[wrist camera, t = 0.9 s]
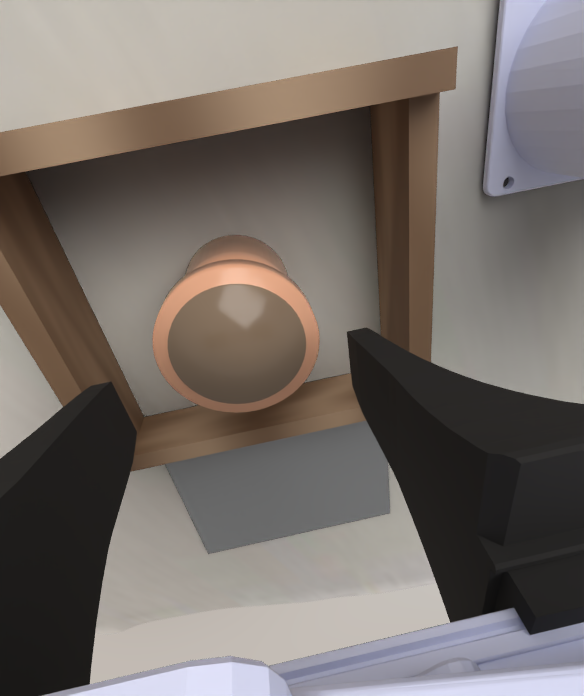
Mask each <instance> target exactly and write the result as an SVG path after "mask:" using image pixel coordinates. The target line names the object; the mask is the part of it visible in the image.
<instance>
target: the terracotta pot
mask: <svg viewBox="0 0 584 696" xmlns="http://www.w3.org/2000/svg"><path fill="white" fill-rule="evenodd" d="M153 351H154V356H155V359H156V362H157V365H158V367H159V369H160V371H161V373H162V375H163V376H164V378H165V379H166V380H167V382H168V383H169V384H170V385H171V386H172V387H173V388H174V389H175V390H176V391H177V392H178V393H179V394H181V395H182V396H184V397H185V398H187V399H188V400H190V401H192V402H194V403H196V404H198V405H200V406H203V407H205V408H208V409H212V410H216V411H222V412H234V413H238V412H250V411H256V410H260V409H263V408H267V407H269V406H272V405H274V404H276V403H278V402H280V401H282V400H284V399H285V398H287V397H288V396H290V395H291V394H292V393H294V392H295V391H296V390H297V389H298V388H299V387H300V386H301V385H302V384H303V383H304V382H305V380H306V379H307V378H308V376H309V375H310V373H311V371H312V369H313V367H314V365H315V362H316V360H317V356H318V351H319V330H318V325H317V322H316V319H315V316H314V314H313V311H312V309H311V307H310V304H309V302H308V300H307V298H306V296H305V295H304V293H303V292H302V291H301V289H300V288H299V287H298V285H297V284H296V283H295V282H293V281H292V280H291V279H290V278H289V277H288V274H287V271H286V268H285V266H284V264H283V262H282V260H281V259H280V257H279V256H278V255H277V253H276V252H275V251H274V250H273V249H272V248H270V247H269V246H268V245H266V244H265V243H263V242H261V241H260V240H257V239H255V238H252V237H248V236H242V235H229V236H223V237H219V238H217V239H214V240H212V241H210V242H208V243H207V244H205V245H204V246H203V247H201V248H200V249H199V250H198V251H197V252H196V253H195V255H194V256H193V258H192V259H191V261H190V263H189V265H188V268H187V271H186V273H185V276H184V277H183V278H182V279H180V280H179V281H178V282H177V283H176V284H175V285H174V286H173V288H172V289H171V290H170V292H169V293H168V295H167V296H166V298H165V300H164V302H163V304H162V306H161V309H160V311H159V314H158V316H157V319H156V322H155V325H154V331H153Z"/></svg>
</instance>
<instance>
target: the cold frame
mask: <svg viewBox="0 0 584 696" xmlns="http://www.w3.org/2000/svg"><path fill="white" fill-rule="evenodd" d="M457 49H458V46H457V47H452V48H447V49H441V50H436V51H431V52H425V53H420V54H415V55H409V56H404V57H399V58H393V59H388V60H383V61H377V62H372V63H367V64H361V65H356V66H351V67H346V68H340V69H335V70H330V71H324V72H319V73H314V74H308V75H303V76H298V77H292V78H287V79H282V80H276V81H271V82H266V83H260V84H255V85H250V86H245V87H239V88H234V89H229V90H223V91H218V92H213V93H207V94H202V95H197V96H191V97H186V98H181V99H175V100H170V101H165V102H159V103H154V104H149V105H143V106H138V107H133V108H128V109H122V110H117V111H112V112H106V113H101V114H96V115H90V116H85V117H80V118H74V119H69V120H64V121H58V122H53V123H48V124H42V125H37V126H32V127H27V128H21V129H16V130H11V131H5V132H0V305H1V307H2V308H3V310H4V312H5V313H6V315H7V316H8V318H9V320H10V321H11V323H12V324H13V326H14V328H15V329H16V331H17V333H18V334H19V336H20V337H21V339H22V341H23V342H24V344H25V346H26V347H27V349H28V350H29V352H30V354H31V355H32V357H33V358H34V360H35V362H36V363H37V365H38V367H39V368H40V370H41V371H42V373H43V375H44V376H45V378H46V380H47V381H48V383H49V384H50V386H51V388H52V389H53V391H54V393H55V394H56V396H57V397H58V399H59V401H60V402H61V404H62V405H63V407H64V406H65V405H67V404H68V403H69V402H70V401H71V400H73V399H74V398H75V397H76V396H78V395H79V394H80V393H81V392H83V391H84V390H85V389H87V388H88V387H90V386H92V385H97V384H101V383H106V382H112V384H113V386H114V388H115V389H116V391H117V393H118V395H119V397H120V399H121V401H122V403H123V405H124V407H125V409H126V411H127V413H128V415H129V417H130V419H131V421H132V423H133V425H134V427H135V429H136V431H137V436H136V445H135V452H134V459H133V464H132V467H131V471H135V470H140V469H145V468H149V467H154V466H159V465H163V464H168V463H172V462H177V461H182V460H186V459H191V458H196V457H200V456H205V455H209V454H214V453H219V452H223V451H228V450H233V449H237V448H242V447H246V446H251V445H256V444H260V443H265V442H270V441H274V440H279V439H283V438H288V437H293V436H297V435H302V434H307V433H311V432H316V431H320V430H325V429H330V428H334V427H339V426H344V425H348V424H353V423H358V422H362V421H366V419H365V417H364V415H363V413H362V411H361V408H360V405H359V403H358V400H357V397H356V395H355V392H354V389H353V386H352V378H351V373H350V374H345V375H340V376H335V377H331V378H326V379H321V380H317V381H312V382H307V383H303V384H302V385H301V386H300V387H299V388H298V389H297V390H296V391H295V392H294V393H292V394H291V395H290V396H288V397H287V398H285V399H284V400H282V401H280V402H278V403H276V404H274V405H272V406H269V407H267V408H263V409H260V410H256V411H250V412H238V413H234V412H222V411H216V410H212V409H208V408H205V407H203V406H200V405H199V406H194V407H189V408H185V409H180V410H175V411H171V412H166V413H161V414H156V415H152V416H147V417H144V416H143V414H142V412H141V410H140V408H139V406H138V404H137V402H136V400H135V398H134V396H133V394H132V392H131V390H130V387H129V385H128V383H127V381H126V379H125V377H124V375H123V373H122V371H121V369H120V367H119V365H118V363H117V361H116V358H115V356H114V354H113V352H112V350H111V348H110V346H109V344H108V342H107V340H106V338H105V336H104V334H103V332H102V329H101V327H100V325H99V323H98V321H97V319H96V317H95V315H94V313H93V311H92V309H91V307H90V305H89V303H88V300H87V298H86V296H85V294H84V292H83V290H82V288H81V286H80V284H79V282H78V280H77V278H76V276H75V274H74V272H73V269H72V267H71V265H70V263H69V261H68V259H67V257H66V255H65V253H64V251H63V249H62V247H61V245H60V243H59V240H58V238H57V236H56V234H55V232H54V230H53V228H52V226H51V224H50V222H49V220H48V218H47V216H46V214H45V211H44V209H43V207H42V205H41V203H40V201H39V199H38V197H37V195H36V193H35V191H34V189H33V187H32V185H31V183H30V180H29V178H28V176H27V174H26V172H25V171H30V170H36V169H41V168H46V167H51V166H56V165H62V164H67V163H72V162H77V161H83V160H88V159H93V158H98V157H104V156H109V155H114V154H119V153H124V152H130V151H135V150H140V149H145V148H151V147H156V146H161V145H166V144H171V143H177V142H182V141H187V140H192V139H198V138H203V137H208V136H213V135H218V134H224V133H229V132H234V131H239V130H245V129H250V128H255V127H260V126H265V125H271V124H276V123H281V122H286V121H292V120H297V119H302V118H307V117H312V116H318V115H323V114H328V113H333V112H339V111H344V110H349V109H354V108H359V107H365V106H370V114H371V135H372V156H373V178H374V199H375V220H376V241H377V263H378V284H379V305H380V326H381V336H382V337H384V338H385V339H387V340H389V341H391V342H392V343H394V344H396V345H398V346H399V347H401V348H403V349H405V350H407V351H409V352H410V353H412V354H414V355H416V356H418V357H420V358H422V359H424V360H427V361H429V362H431V340H432V309H433V279H434V249H435V218H436V188H437V157H438V127H439V97H440V92H443V91H448V90H454V89H455V88H456V69H457ZM131 471H130V472H131Z"/></svg>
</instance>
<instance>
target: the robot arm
mask: <svg viewBox="0 0 584 696" xmlns="http://www.w3.org/2000/svg"><path fill="white" fill-rule="evenodd" d="M507 177H508V178H509V182H508V184H507V185H506V187H503V182H504V180H505V179H506V178H507ZM581 179H584V0H500V6H499V17H498V27H497V38H496V49H495V60H494V71H493V82H492V93H491V104H490V114H489V125H488V136H487V147H486V158H485V169H484V180H483V191H484V192H485V194H487V195H489V196H501V195H506V194H511V193H516V192H521V191H526V190H531V189H536V188H541V187H546V186H551V185H556V184H561V183H566V182H571V181H576V180H581ZM347 338H348V348H349V358H350V368H351V378H352V386H353V389H354V392H355V395H356V397H357V400H358V403H359V405H360V408H361V411H362V413H363V415H364V417H365V419H366V421H367V423H368V425H369V427H370V429H371V430H372V432H373V434H374V436H375V438H376V440H377V442H378V444H379V446H380V447H381V449H382V451H383V453H384V455H385V457H386V459H387V461H388V463H389V465H390V466H391V468H392V470H393V472H394V475H395V477H396V479H397V481H398V483H399V486H400V488H401V491H402V493H403V496H404V498H405V501H406V503H407V506H408V508H409V511H410V513H411V516H412V518H413V521H414V524H415V526H416V529H417V531H418V534H419V537H420V539H421V542H422V544H423V547H424V550H425V553H426V555H427V558H428V561H429V564H430V566H431V569H432V572H433V574H434V577H435V580H436V583H437V585H438V588H439V591H440V594H441V597H442V600H443V603H444V605H445V608H446V611H447V614H448V617H449V619H450V623H447V624H443V625H438V626H434V627H430V628H426V629H422V630H417V631H413V632H409V633H405V634H401V635H397V636H392V637H388V638H384V639H380V640H375V641H371V642H367V643H363V644H359V645H354V646H350V647H346V648H342V649H338V650H333V651H329V652H325V653H321V654H316V655H312V656H308V657H304V658H300V659H295V660H291V661H287V662H283V663H279V664H274V665H270V666H267V665H266V664H265V663H264V662H262V661H257V660H252V659H245V658H239V657H233V656H226V657H217V658H209V659H200V660H191V661H187V662H182V663H178V664H174V665H170V666H166V667H161V668H157V669H153V670H149V671H145V672H140V673H136V674H132V675H127V676H123V677H119V678H115V679H110V680H107V681H102V682H98V683H94V684H90V673H91V663H92V654H93V646H94V638H95V629H96V621H97V614H98V608H99V601H100V594H101V588H102V581H103V576H104V570H105V565H106V559H107V554H108V548H109V544H110V540H111V536H112V532H113V529H114V525H115V522H116V519H117V515H118V512H119V509H120V505H121V502H122V499H123V495H124V492H125V488H126V485H127V482H128V478H129V475H130V471H131V467H132V464H133V459H134V452H135V445H136V436H137V431H136V429H135V427H134V425H133V423H132V421H131V419H130V417H129V415H128V413H127V411H126V409H125V407H124V405H123V403H122V401H121V399H120V397H119V395H118V393H117V391H116V389H115V388H114V386H113V384H112V382H106V383H101V384H97V385H92V386H90V387H88V388H87V389H85V390H84V391H83V392H81V393H80V394H79V395H78V396H76V397H75V398H74V399H73V400H71V401H70V402H69V403H68V404H67V405H65V406H64V407H63V408H62V409H61V410H59V411H58V412H57V413H56V414H55V415H54V416H52V417H51V418H50V419H49V420H48V421H46V422H45V423H44V424H43V425H42V426H41V427H39V428H38V429H37V430H36V431H35V432H33V433H32V434H31V435H30V436H28V437H27V438H26V439H25V440H23V441H22V442H21V443H20V444H18V445H17V446H16V447H15V448H13V449H12V450H11V451H10V452H8V453H7V454H6V455H5V456H3V457H2V458H1V459H0V696H584V404H578V403H571V402H564V401H558V400H553V399H548V398H543V397H538V396H533V395H529V394H524V393H520V392H516V391H512V390H508V389H504V388H501V387H497V386H493V385H490V384H486V383H483V382H480V381H477V380H474V379H471V378H468V377H465V376H463V375H460V374H457V373H454V372H452V371H449V370H447V369H444V368H442V367H440V366H437V365H435V364H433V363H431V362H429V361H427V360H424V359H422V358H420V357H418V356H416V355H414V354H412V353H410V352H409V351H407V350H405V349H403V348H401V347H399V346H398V345H396V344H394V343H392V342H391V341H389V340H387V339H385V338H384V337H382V336H380V335H379V334H377V333H375V332H374V331H372V330H370V329H368V328H363V329H358V330H353V331H348V332H347Z"/></svg>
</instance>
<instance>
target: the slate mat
mask: <svg viewBox="0 0 584 696" xmlns="http://www.w3.org/2000/svg"><path fill="white" fill-rule="evenodd" d="M165 465H166V468H167V470H168V472H169V474H170V476H171V478H172V480H173V482H174V484H175V486H176V488H177V490H178V492H179V494H180V496H181V498H182V500H183V502H184V505H185V507H186V509H187V511H188V513H189V515H190V517H191V519H192V521H193V523H194V525H195V527H196V529H197V531H198V533H199V535H200V537H201V539H202V542H203V544H204V546H205V548H206V550H207V552H208V554H210V553H215V552H219V551H224V550H228V549H233V548H237V547H242V546H246V545H250V544H255V543H259V542H264V541H268V540H273V539H277V538H282V537H286V536H291V535H295V534H300V533H304V532H309V531H313V530H317V529H322V528H326V527H331V526H335V525H340V524H344V523H349V522H353V521H358V520H362V519H367V518H371V517H376V516H380V515H385V514H389V513H390V500H389V478H388V461H387V459H386V457H385V455H384V453H383V451H382V449H381V447H380V446H379V444H378V442H377V440H376V438H375V436H374V434H373V432H372V430H371V429H370V427H369V425H368V423H367V421H362V422H358V423H353V424H348V425H344V426H339V427H334V428H330V429H325V430H320V431H316V432H311V433H307V434H302V435H297V436H293V437H288V438H283V439H279V440H274V441H270V442H265V443H260V444H256V445H251V446H246V447H242V448H237V449H233V450H228V451H223V452H219V453H214V454H209V455H205V456H200V457H196V458H191V459H186V460H182V461H177V462H172V463H168V464H165Z"/></svg>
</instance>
